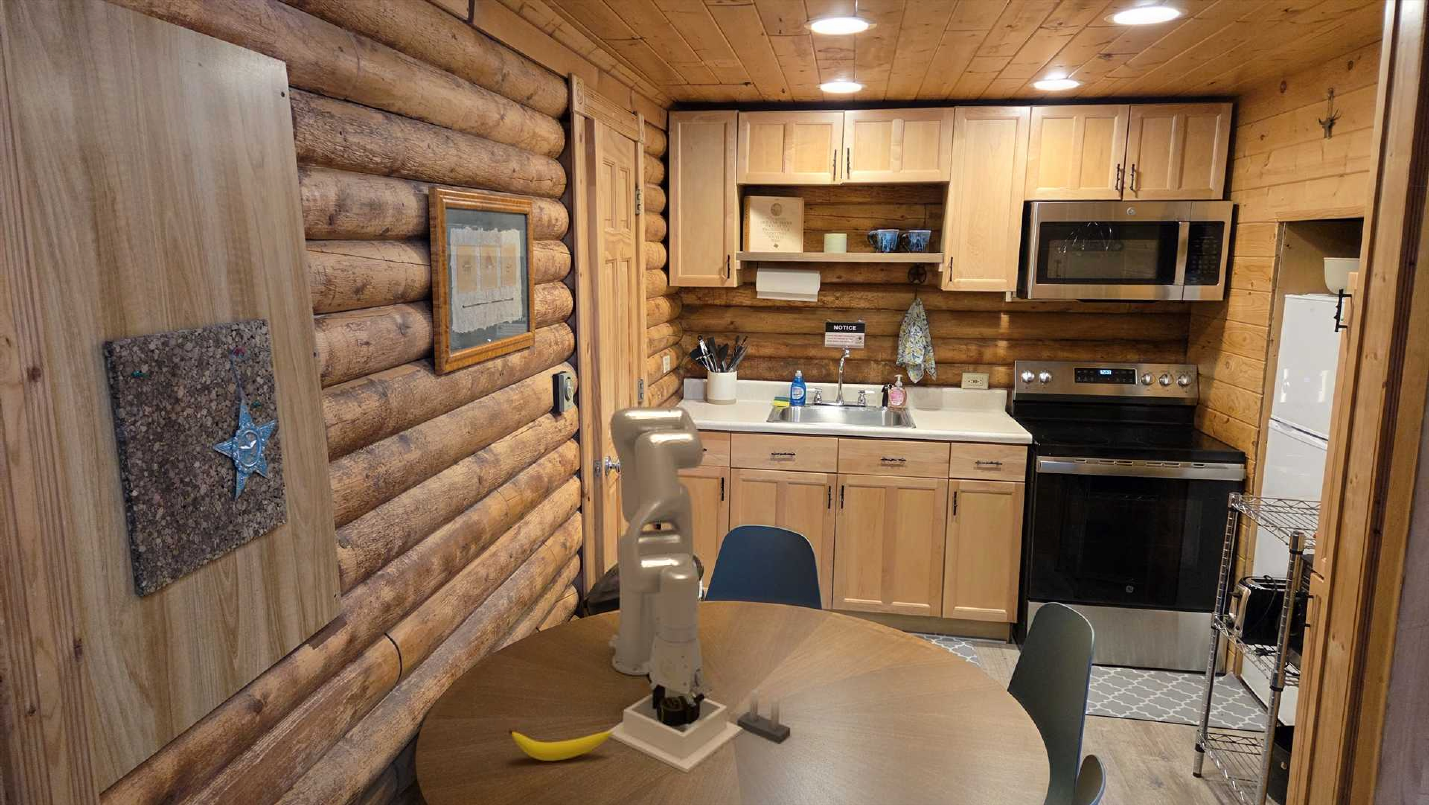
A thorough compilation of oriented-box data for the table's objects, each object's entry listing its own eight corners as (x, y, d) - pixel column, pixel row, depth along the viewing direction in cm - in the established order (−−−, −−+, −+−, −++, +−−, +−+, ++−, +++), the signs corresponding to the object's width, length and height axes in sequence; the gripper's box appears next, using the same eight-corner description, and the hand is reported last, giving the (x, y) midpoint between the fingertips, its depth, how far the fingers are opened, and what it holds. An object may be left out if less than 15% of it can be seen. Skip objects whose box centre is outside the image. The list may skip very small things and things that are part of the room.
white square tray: (606, 735, 165) (607, 710, 164) (664, 699, 179) (665, 676, 178) (687, 773, 153) (688, 746, 152) (742, 731, 168) (743, 707, 167)
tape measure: (695, 728, 164) (696, 710, 163) (661, 732, 162) (662, 714, 161) (685, 710, 170) (686, 693, 170) (652, 714, 168) (653, 697, 168)
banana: (612, 760, 157) (613, 728, 156) (508, 767, 153) (508, 734, 152) (612, 751, 159) (612, 720, 158) (509, 757, 156) (509, 726, 155)
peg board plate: (737, 726, 170) (738, 691, 168) (748, 718, 173) (749, 684, 172) (779, 743, 164) (781, 708, 163) (789, 735, 167) (791, 699, 166)
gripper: (631, 624, 165) (629, 707, 168) (702, 650, 155) (699, 737, 158) (655, 612, 171) (653, 692, 174) (725, 636, 161) (722, 721, 164)
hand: (675, 713), depth 166 cm, fingers closed on tape measure, 8 cm apart
